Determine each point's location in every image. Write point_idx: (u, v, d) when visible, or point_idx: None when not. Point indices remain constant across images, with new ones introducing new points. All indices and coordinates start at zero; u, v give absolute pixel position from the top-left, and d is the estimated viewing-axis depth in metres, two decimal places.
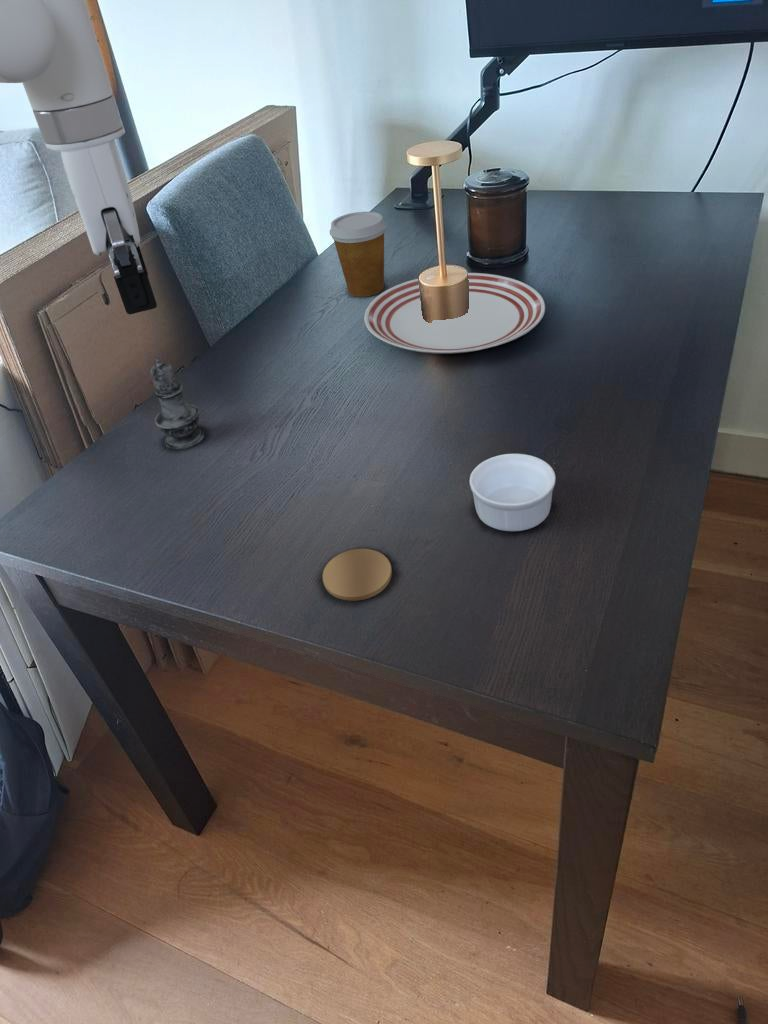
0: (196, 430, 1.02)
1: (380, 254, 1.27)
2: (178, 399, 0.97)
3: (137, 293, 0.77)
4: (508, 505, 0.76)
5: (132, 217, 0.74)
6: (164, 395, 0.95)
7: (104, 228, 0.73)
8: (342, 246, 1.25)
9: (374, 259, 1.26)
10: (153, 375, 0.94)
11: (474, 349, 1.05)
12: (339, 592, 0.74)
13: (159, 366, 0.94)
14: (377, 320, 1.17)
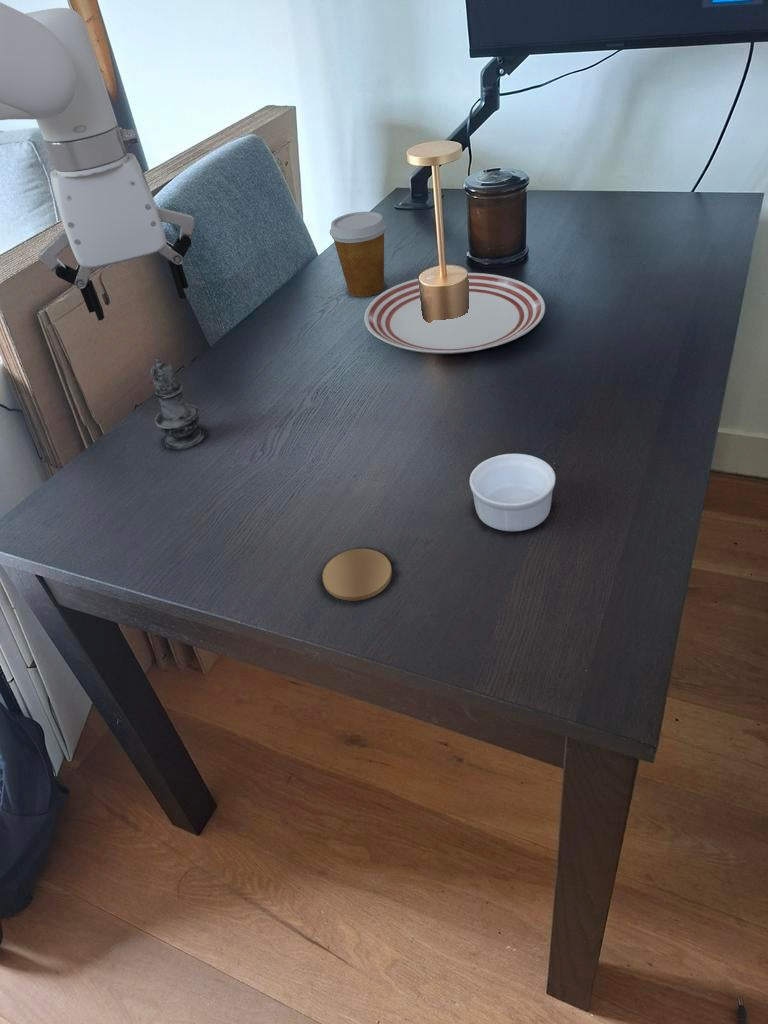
0: (196, 430, 1.02)
1: (380, 254, 1.27)
2: (178, 399, 0.97)
3: None
4: (508, 505, 0.76)
5: (72, 243, 0.82)
6: (164, 395, 0.95)
7: None
8: (342, 246, 1.25)
9: (374, 259, 1.26)
10: (153, 375, 0.94)
11: (474, 349, 1.05)
12: (339, 592, 0.74)
13: (159, 366, 0.94)
14: (377, 320, 1.17)
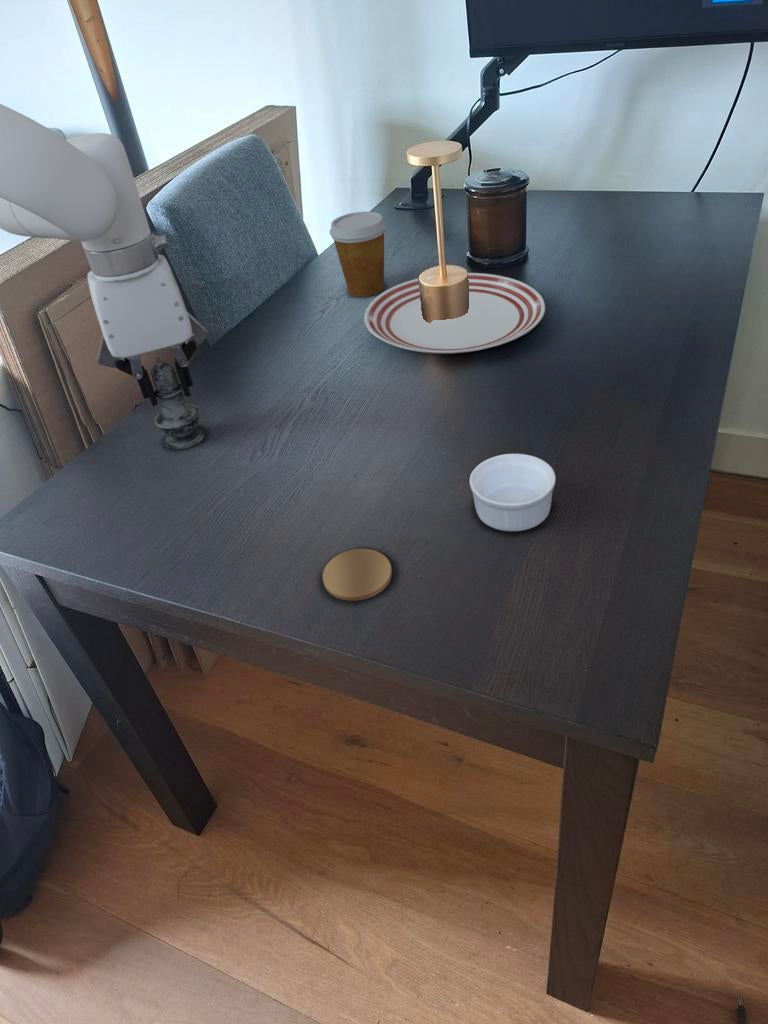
0: (196, 430, 1.02)
1: (380, 254, 1.27)
2: (178, 399, 0.97)
3: None
4: (508, 505, 0.76)
5: (106, 338, 0.89)
6: (164, 395, 0.95)
7: None
8: (342, 246, 1.25)
9: (374, 259, 1.26)
10: (153, 375, 0.94)
11: (474, 349, 1.05)
12: (339, 592, 0.74)
13: (159, 366, 0.94)
14: (377, 320, 1.17)
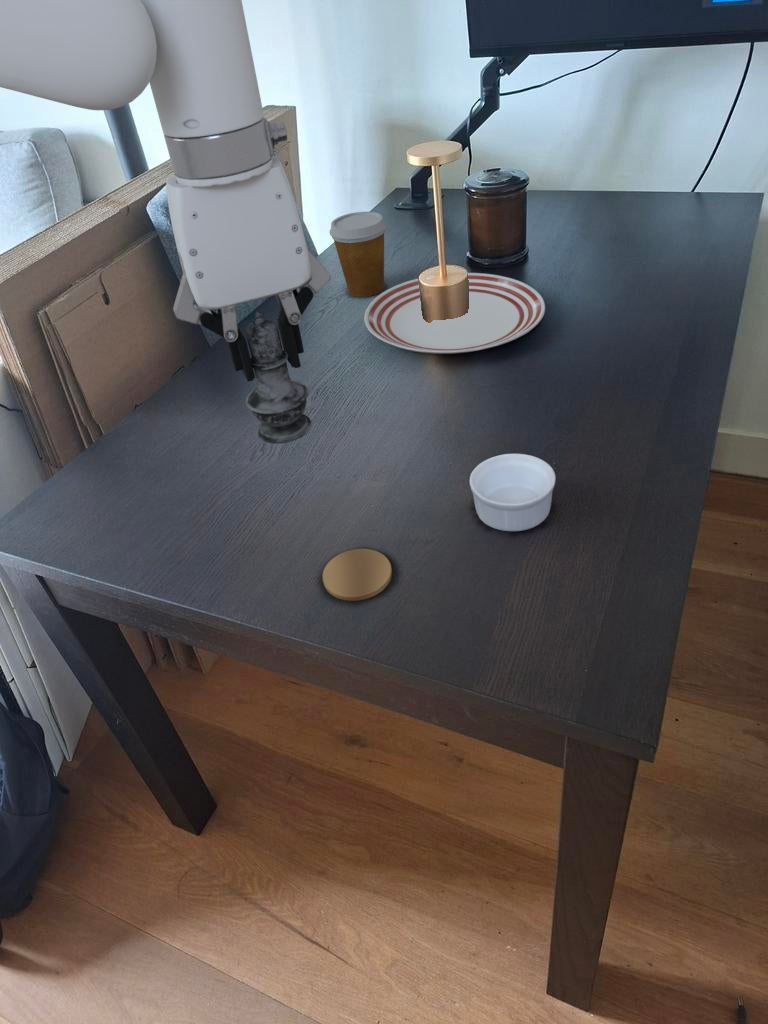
0: (300, 417, 0.73)
1: (380, 254, 1.27)
2: (283, 372, 0.68)
3: (231, 356, 0.67)
4: (508, 505, 0.76)
5: (192, 277, 0.60)
6: (265, 366, 0.67)
7: (183, 271, 0.62)
8: (342, 246, 1.25)
9: (374, 259, 1.26)
10: (251, 336, 0.66)
11: (474, 349, 1.05)
12: (339, 592, 0.74)
13: (260, 322, 0.66)
14: (377, 320, 1.17)
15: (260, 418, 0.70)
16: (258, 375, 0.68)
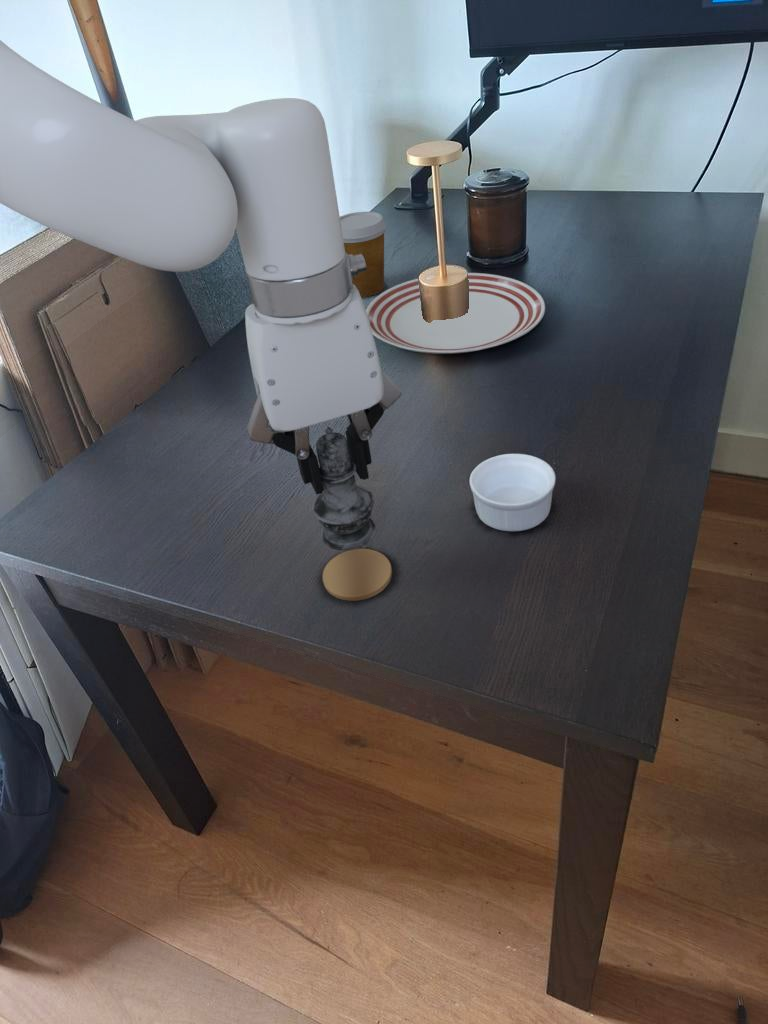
0: None
1: (380, 254, 1.27)
2: (351, 484, 0.68)
3: (301, 470, 0.67)
4: (508, 505, 0.76)
5: (269, 404, 0.60)
6: (334, 479, 0.67)
7: (257, 393, 0.62)
8: None
9: (374, 259, 1.26)
10: (322, 452, 0.66)
11: (474, 349, 1.05)
12: (339, 592, 0.74)
13: (330, 438, 0.66)
14: (377, 320, 1.17)
15: (327, 527, 0.70)
16: (326, 486, 0.68)
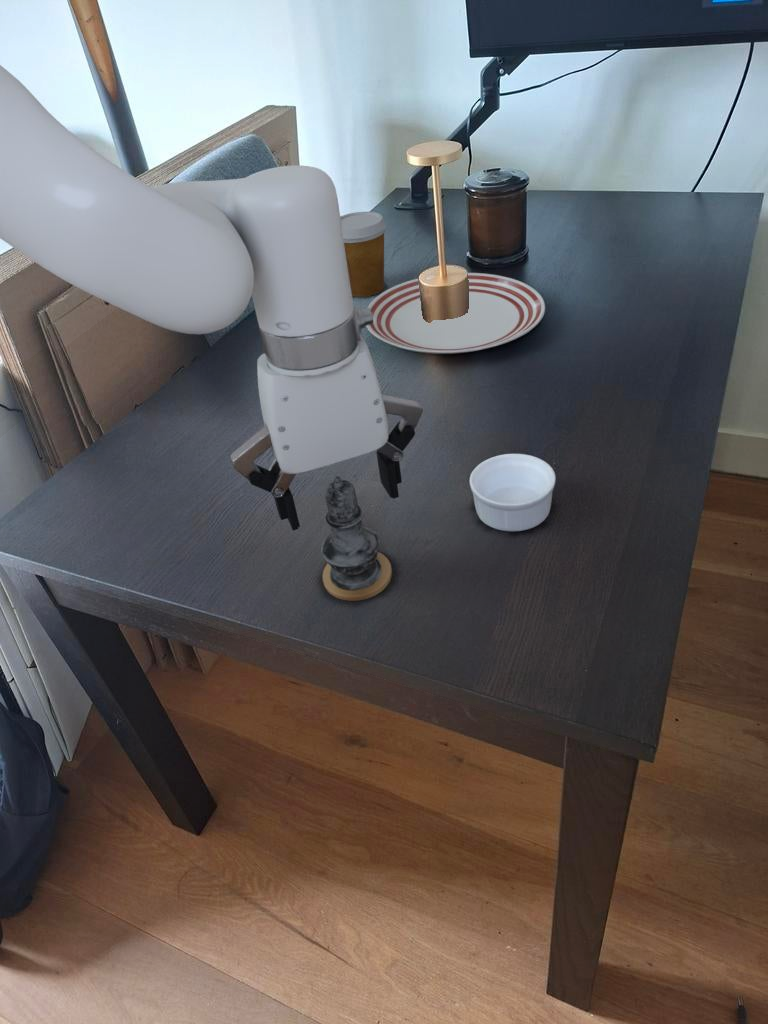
0: None
1: (380, 254, 1.27)
2: (358, 528, 0.72)
3: (277, 506, 0.68)
4: (508, 505, 0.76)
5: (279, 449, 0.63)
6: (342, 525, 0.70)
7: None
8: None
9: (374, 259, 1.26)
10: (330, 500, 0.69)
11: (474, 349, 1.05)
12: (339, 592, 0.74)
13: (339, 487, 0.69)
14: (377, 320, 1.17)
15: (335, 568, 0.73)
16: (335, 531, 0.72)
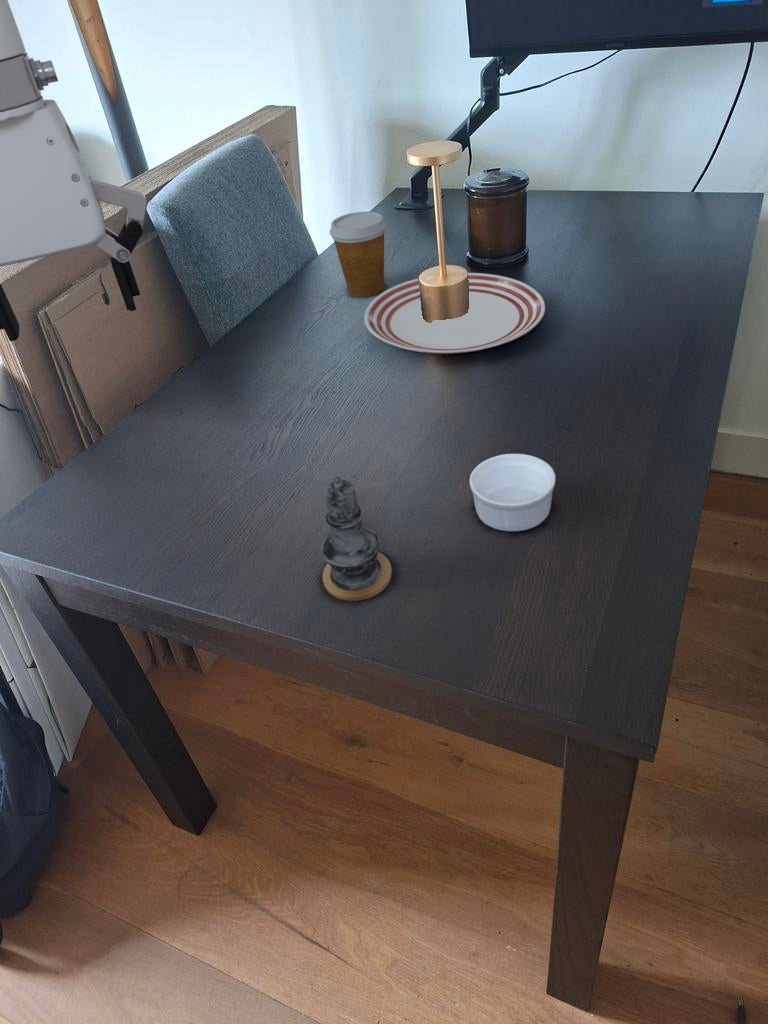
0: None
1: (380, 254, 1.27)
2: (358, 528, 0.72)
3: None
4: (508, 505, 0.76)
5: None
6: (342, 525, 0.70)
7: None
8: (342, 246, 1.25)
9: (374, 259, 1.26)
10: (330, 500, 0.69)
11: (474, 349, 1.05)
12: (339, 592, 0.74)
13: (339, 487, 0.69)
14: (377, 320, 1.17)
15: (335, 568, 0.73)
16: (335, 531, 0.72)
